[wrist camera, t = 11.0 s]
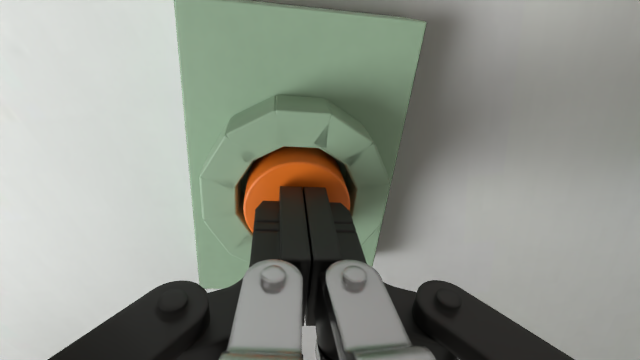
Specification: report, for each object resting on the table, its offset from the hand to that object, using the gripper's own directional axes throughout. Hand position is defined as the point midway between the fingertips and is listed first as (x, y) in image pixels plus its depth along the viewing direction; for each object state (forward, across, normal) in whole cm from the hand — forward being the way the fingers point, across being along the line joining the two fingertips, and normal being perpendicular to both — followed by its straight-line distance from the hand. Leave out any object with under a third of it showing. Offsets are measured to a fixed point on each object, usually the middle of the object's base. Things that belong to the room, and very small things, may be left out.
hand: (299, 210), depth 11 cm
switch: (+2, 0, 0) cm, 2 cm away
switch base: (+5, 0, 0) cm, 5 cm away
